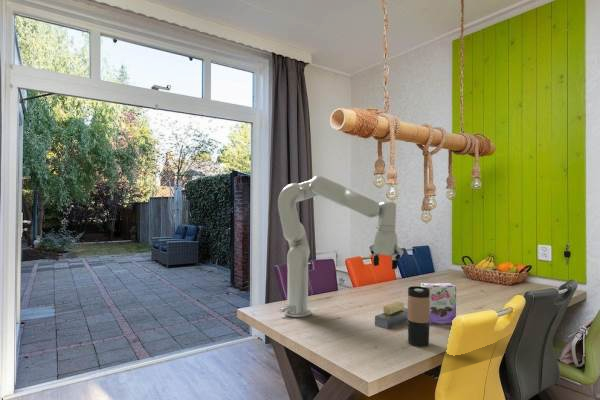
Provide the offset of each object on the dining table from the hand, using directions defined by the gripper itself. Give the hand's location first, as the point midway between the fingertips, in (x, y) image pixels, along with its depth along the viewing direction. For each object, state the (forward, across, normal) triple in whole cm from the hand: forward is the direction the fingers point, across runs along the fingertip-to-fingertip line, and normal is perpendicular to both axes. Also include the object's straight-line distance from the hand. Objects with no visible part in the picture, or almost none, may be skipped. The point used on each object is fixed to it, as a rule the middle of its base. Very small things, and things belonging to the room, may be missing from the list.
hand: (385, 267), depth 163 cm
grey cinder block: (+22, +7, -2) cm, 24 cm away
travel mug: (+22, +26, -16) cm, 38 cm away
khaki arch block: (+21, +7, -2) cm, 23 cm away
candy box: (+22, +19, +12) cm, 32 cm away
